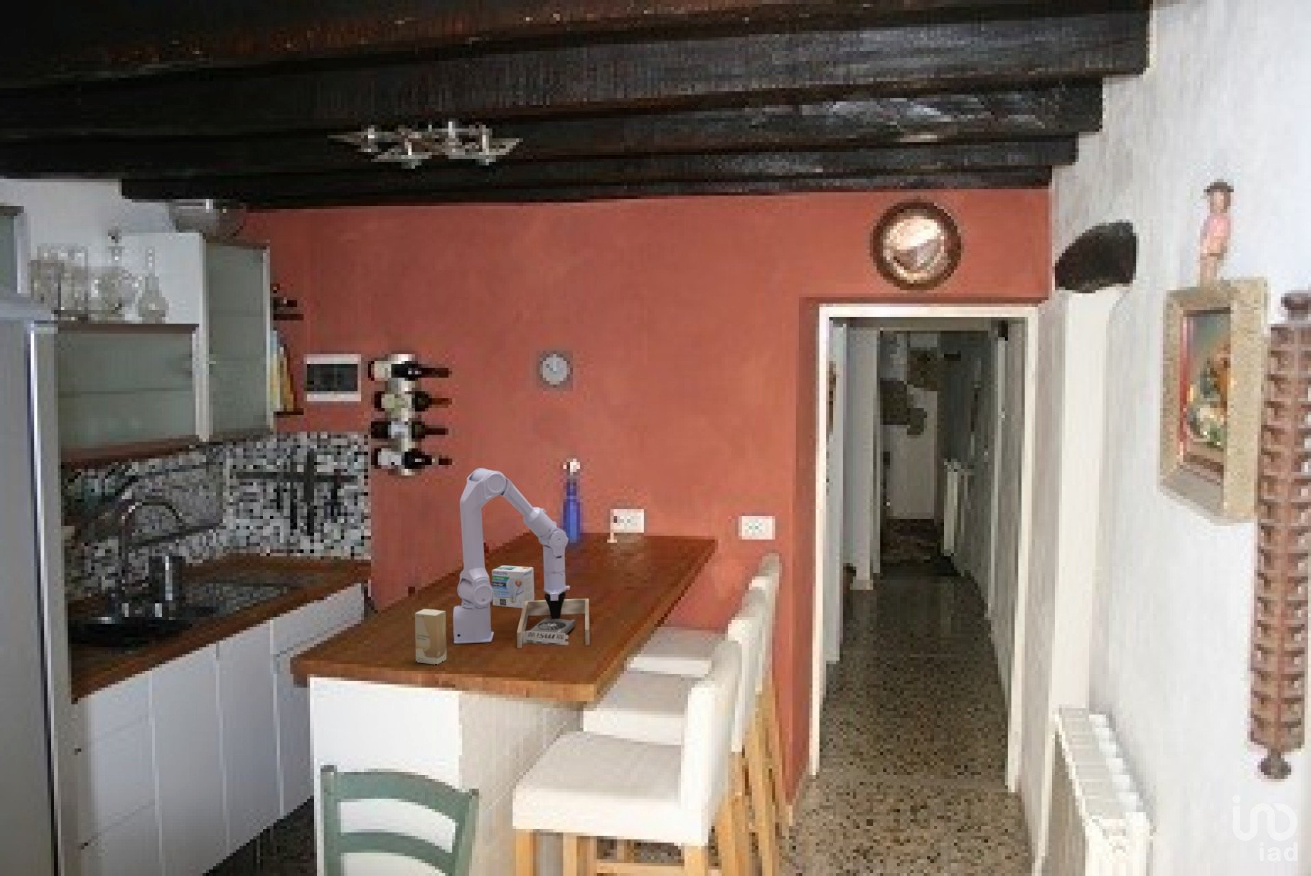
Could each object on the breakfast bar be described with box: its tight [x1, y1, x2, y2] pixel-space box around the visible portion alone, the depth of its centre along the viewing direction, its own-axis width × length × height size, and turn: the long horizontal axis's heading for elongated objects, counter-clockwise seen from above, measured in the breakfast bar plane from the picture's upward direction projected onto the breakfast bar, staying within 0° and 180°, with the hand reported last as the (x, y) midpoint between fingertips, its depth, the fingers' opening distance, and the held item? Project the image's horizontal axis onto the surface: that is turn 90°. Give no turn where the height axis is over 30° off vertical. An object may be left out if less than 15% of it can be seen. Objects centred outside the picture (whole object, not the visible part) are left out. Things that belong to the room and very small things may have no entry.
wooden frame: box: [516, 598, 591, 649], centre depth 261 cm, size 18×31×4 cm, turn 4°
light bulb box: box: [491, 564, 535, 609], centre depth 287 cm, size 11×7×11 cm, turn 70°
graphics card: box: [522, 617, 576, 646], centre depth 255 cm, size 17×4×12 cm
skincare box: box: [414, 608, 447, 665], centre depth 235 cm, size 6×4×12 cm
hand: (555, 620), depth 266 cm, fingers closed
